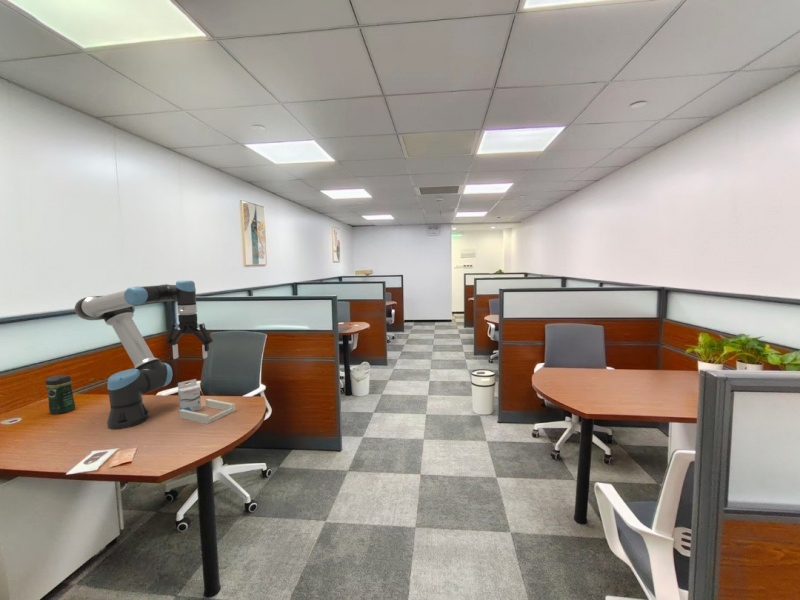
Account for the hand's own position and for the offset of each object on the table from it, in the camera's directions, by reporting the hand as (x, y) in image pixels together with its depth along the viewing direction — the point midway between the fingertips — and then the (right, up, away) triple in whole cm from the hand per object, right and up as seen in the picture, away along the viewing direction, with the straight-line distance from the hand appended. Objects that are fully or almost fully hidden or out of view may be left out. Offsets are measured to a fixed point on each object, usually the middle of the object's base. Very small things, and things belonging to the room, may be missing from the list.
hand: (190, 358), depth 162 cm
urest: (+6, -27, +3) cm, 28 cm away
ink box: (-5, -28, +8) cm, 29 cm away
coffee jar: (-73, -29, +12) cm, 79 cm away
